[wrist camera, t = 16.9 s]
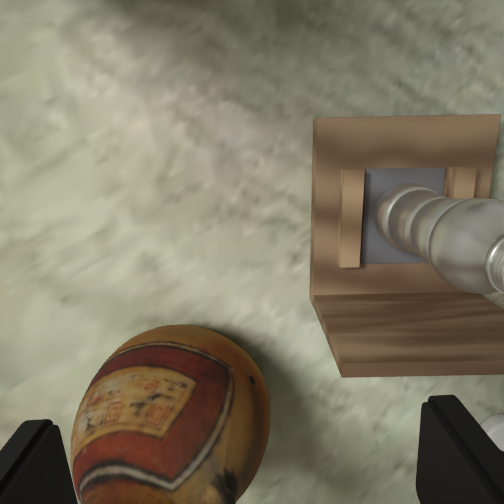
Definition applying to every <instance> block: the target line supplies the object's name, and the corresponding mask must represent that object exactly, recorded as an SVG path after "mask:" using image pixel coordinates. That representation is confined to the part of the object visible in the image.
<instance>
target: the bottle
mask: <svg viewBox="0 0 504 504" xmlns="http://www.w3.org/2000/svg"><path fill="white" fill-rule="evenodd" d="M481 427H482V428H483V430H484V431H485V432H486V433H487V435H488V436H489V437H490V438H491V439H492V441H493V442H494V443H495V444H496V445H497V447H498V448H499V449H500V450H502V451H504V414H496V415H493V416H490V417H488V418H487V419H486V420H484V421H483V422H482V424H481Z"/></svg>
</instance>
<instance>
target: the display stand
mask: <svg viewBox="0 0 504 504" xmlns="http://www.w3.org/2000/svg"><path fill="white" fill-rule="evenodd" d="M500 117H501V114H486V115H437V116H387V117H337V118H316V119H314V120H313V166H312V211H311V257H310V300H311V303H312V305H313V307H314V309H315V311H316V314H317V316H318V319H319V321H320V324H321V326H322V329H323V331H324V334H325V336H326V339H327V341H328V344H329V346H330V349H331V351H332V354H333V356H334V359H335V361H336V364H337V367H338V369H339V372H340V374H341V377H342V378H343V377H395V376H447V375H499V374H504V310H503V309H502V308H500V307H498V306H497V305H495V304H494V303H492V302H491V301H489V300H488V299H486V298H484V297H483V296H481V295H480V294H476V293H469V292H464V291H461V290H458V289H456V288H454V287H452V286H451V285H449V284H448V283H447V282H445V281H444V280H443V279H442V278H441V277H440V276H439V275H438V274H437V273H436V272H435V271H434V269H433V268H432V267H431V266H430V265H429V264H428V263H427V262H426V261H425V260H423V259H422V258H421V257H420V256H418V255H417V254H414V253H412V252H407V251H402V250H399V249H396V248H394V247H392V246H390V245H389V244H387V243H386V242H385V241H384V240H383V239H382V237H381V236H380V234H379V233H378V231H377V229H376V226H375V223H374V210H375V206H376V204H377V202H378V200H379V198H380V197H381V196H382V195H383V194H384V193H385V192H386V191H387V190H389V189H390V188H392V187H394V186H396V185H401V184H405V183H418V184H422V185H424V186H427V187H429V188H431V189H432V190H434V191H435V192H437V193H438V194H439V195H442V196H444V197H449V198H457V199H466V198H489V193H490V187H491V180H492V173H493V166H494V159H495V152H496V145H497V138H498V131H499V124H500Z"/></svg>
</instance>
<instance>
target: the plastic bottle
mask: <svg viewBox="0 0 504 504" xmlns="http://www.w3.org/2000/svg"><path fill="white" fill-rule="evenodd" d="M374 223H375V226H376V229H377V231H378V233H379V234H380V236H381V237H382V239H383V240H384V241H385V242H386V243H387V244H389V245H390V246H392V247H394V248H396V249H399V250H402V251H407V252H412V253H414V254H417V255H418V256H420V257H421V258H422V259H423V260H425V261H426V262H427V263H428V264H429V265H430V266H431V267H432V268H433V269H434V271H435V272H436V273H437V274H438V275H439V276H440V277H441V278H442V279H443V280H444V281H445V282H447V283H448V284H449V285H451V286H452V287H454V288H456V289H458V290H461V291H464V292H469V293H476V294H490V293H495V292H500V293H502V294H504V202H503V201H501V200H496V199H489V198H466V199H457V198H449V197H444V196H442V195H439V194H438V193H437V192H435V191H434V190H432V189H431V188H429V187H427V186H424V185H422V184H418V183H405V184H401V185H396V186H394V187H392V188H390V189H389V190H387V191H386V192H385V193H384V194H383V195H382V196H381V197H380V198H379V200H378V202H377V204H376V206H375V210H374Z"/></svg>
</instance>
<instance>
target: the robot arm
mask: <svg viewBox="0 0 504 504" xmlns="http://www.w3.org/2000/svg"><path fill="white" fill-rule="evenodd" d="M416 491H417V495H418V499H419V501H420V503H421V504H504V451H502V450H500V449H499V448H498V447H497V445H496V444H495V443H494V442H493V441H492V439H491V438H490V437H489V436H488V435H487V433H486V432H485V431H484V430H483V428H482V427H481V426H480V425H479V424H478V422H477V421H476V420H475V419H474V418H473V416H472V415H471V414H470V413H469V411H468V410H467V409H466V408H465V407H464V405H463V404H462V403H461V402H460V400H459V399H458V398H457V397H456V396H455V395H438V396H430V397H429V398H428V402H424V403H423V404H422V408H421V421H420V434H419V448H418V461H417V474H416ZM0 504H78V503H77V499H76V495H75V491H74V487H73V482H72V478H71V474H70V470H69V466H68V462H67V458H66V454H65V449H64V445H63V441H62V437H61V433H60V429H59V427H58V426H57V425H53V422H52V421H51V420H49V419H43V420H27V421H25V422H23V423H22V424H21V425H20V427H19V428H18V429H17V430H16V432H15V433H14V434H13V435H12V437H11V438H10V439H9V440H8V442H7V443H6V444H5V446H4V447H3V448H2V449H1V451H0Z"/></svg>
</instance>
